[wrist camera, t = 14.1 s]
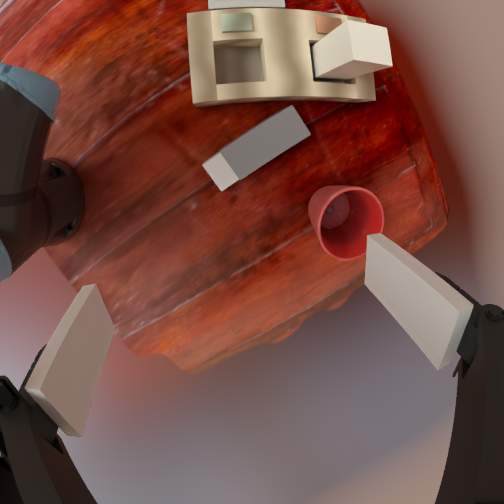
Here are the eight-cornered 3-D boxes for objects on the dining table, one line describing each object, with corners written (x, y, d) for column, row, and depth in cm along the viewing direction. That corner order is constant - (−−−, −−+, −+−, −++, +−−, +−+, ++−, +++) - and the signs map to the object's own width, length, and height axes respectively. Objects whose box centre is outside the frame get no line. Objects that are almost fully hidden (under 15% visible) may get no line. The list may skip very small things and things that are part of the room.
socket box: (196, 107, 38) (192, 102, 32) (190, 27, 32) (186, 12, 26) (357, 102, 40) (377, 100, 34) (349, 29, 34) (366, 18, 28)
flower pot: (290, 230, 48) (307, 253, 39) (310, 167, 44) (333, 177, 35) (343, 243, 50) (368, 267, 41) (364, 186, 46) (394, 200, 37)
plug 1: (221, 186, 44) (222, 193, 39) (202, 161, 42) (201, 164, 37) (301, 134, 42) (311, 134, 37) (283, 107, 40) (292, 104, 35)
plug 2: (309, 80, 36) (353, 59, 23) (305, 51, 34) (347, 19, 21) (339, 82, 37) (392, 66, 23) (336, 54, 35) (386, 28, 21)
